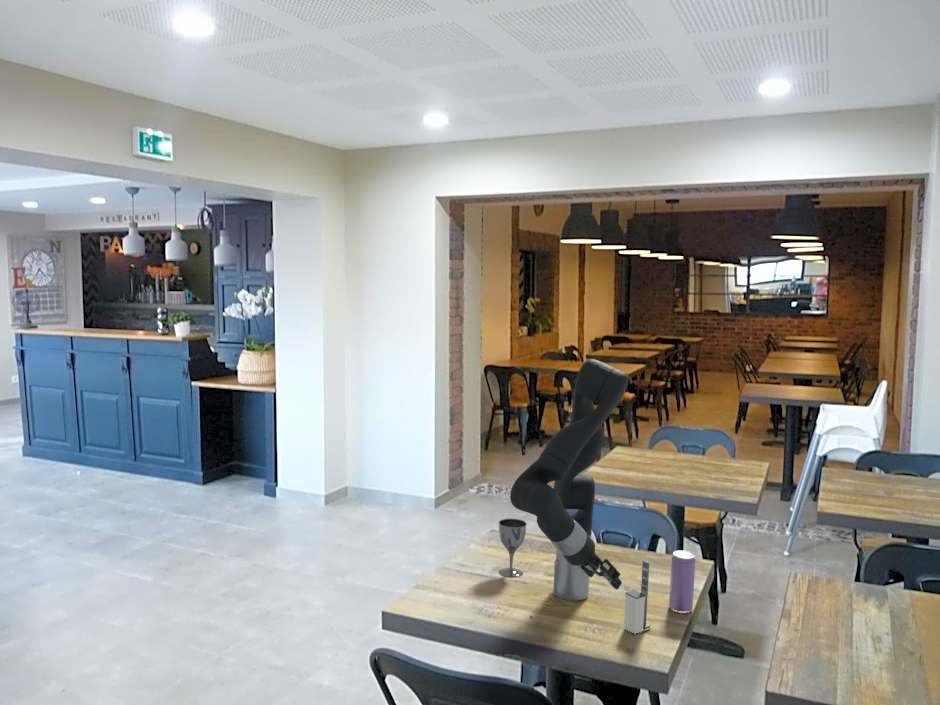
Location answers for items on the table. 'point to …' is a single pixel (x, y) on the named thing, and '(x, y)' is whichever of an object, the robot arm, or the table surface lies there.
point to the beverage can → (682, 581)
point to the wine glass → (512, 542)
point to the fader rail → (645, 589)
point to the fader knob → (634, 611)
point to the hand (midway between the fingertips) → (605, 579)
